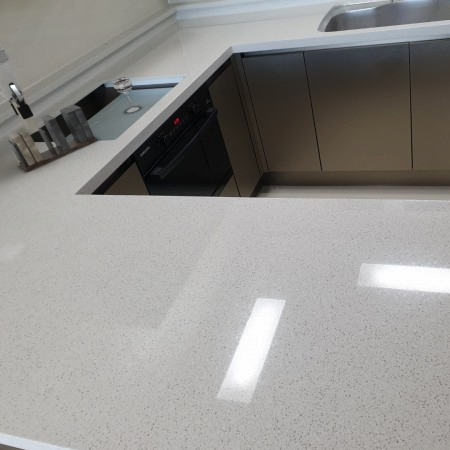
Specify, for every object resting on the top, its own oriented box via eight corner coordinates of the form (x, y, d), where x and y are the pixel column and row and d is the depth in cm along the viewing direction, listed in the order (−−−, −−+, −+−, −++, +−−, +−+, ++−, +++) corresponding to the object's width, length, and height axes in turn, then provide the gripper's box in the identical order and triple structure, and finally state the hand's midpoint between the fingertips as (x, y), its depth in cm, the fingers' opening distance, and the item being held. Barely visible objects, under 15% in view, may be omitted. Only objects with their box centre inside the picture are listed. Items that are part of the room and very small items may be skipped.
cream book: (32, 133, 147) (16, 103, 141) (26, 129, 151) (10, 100, 145) (39, 130, 148) (23, 100, 142) (33, 126, 152) (17, 97, 146)
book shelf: (27, 171, 149) (7, 137, 142) (20, 165, 154) (0, 132, 147) (97, 140, 161) (81, 107, 154) (88, 136, 166) (72, 103, 159)
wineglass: (131, 106, 185) (119, 77, 178) (144, 106, 182) (133, 76, 175) (120, 113, 180) (108, 83, 173) (134, 113, 178) (122, 83, 171)
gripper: (-26, 60, 140) (5, 115, 150) (-12, 66, 129) (21, 125, 139) (-1, 52, 144) (28, 106, 154) (15, 57, 132) (45, 115, 143)
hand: (24, 115), depth 146 cm, fingers closed on cream book, 6 cm apart
